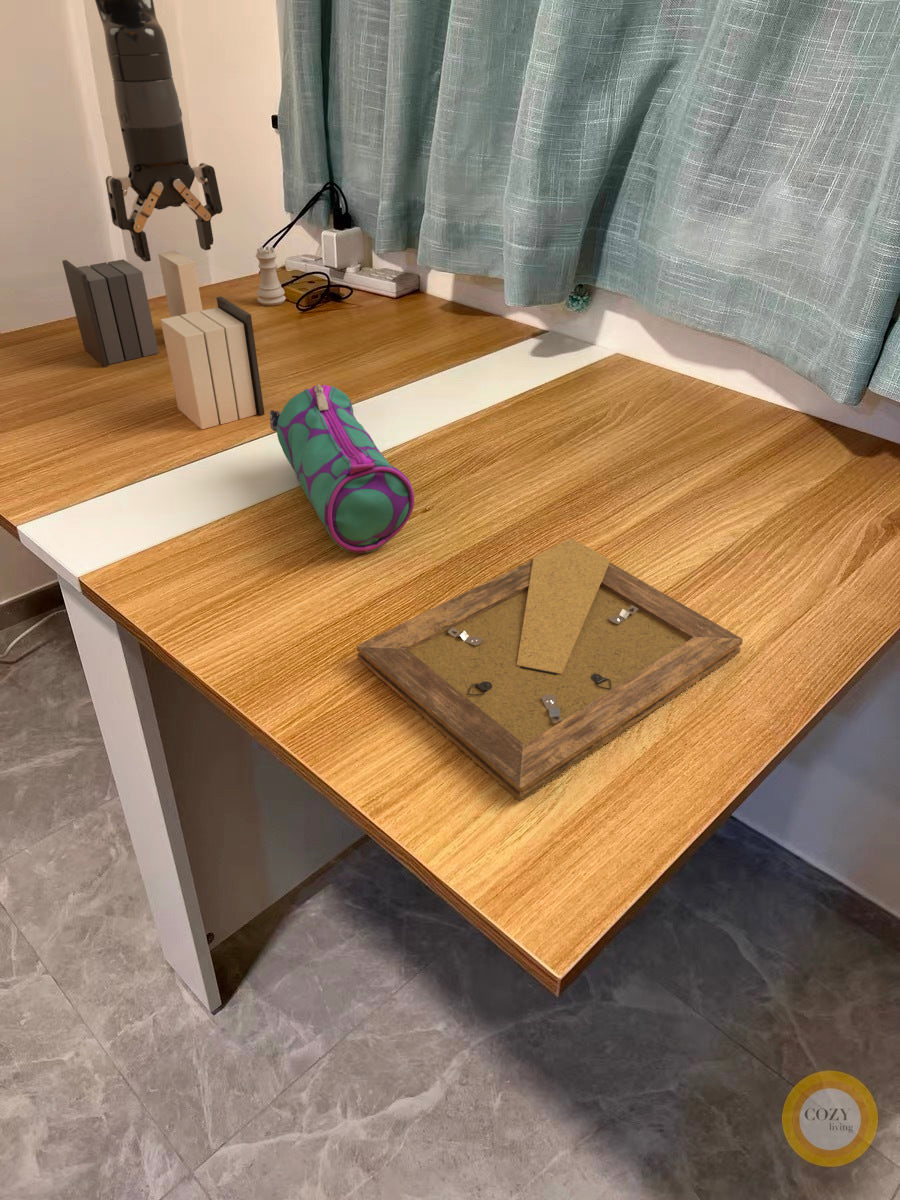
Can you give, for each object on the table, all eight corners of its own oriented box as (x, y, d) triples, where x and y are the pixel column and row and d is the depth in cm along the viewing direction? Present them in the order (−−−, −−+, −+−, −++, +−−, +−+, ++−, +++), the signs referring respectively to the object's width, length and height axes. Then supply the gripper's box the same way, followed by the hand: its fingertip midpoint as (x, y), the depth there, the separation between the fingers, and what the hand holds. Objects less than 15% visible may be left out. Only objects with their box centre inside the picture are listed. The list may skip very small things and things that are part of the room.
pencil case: (275, 467, 95) (264, 382, 89) (354, 452, 98) (348, 369, 92) (329, 569, 80) (319, 474, 74) (421, 548, 82) (419, 455, 76)
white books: (203, 431, 102) (184, 329, 95) (176, 408, 107) (156, 309, 100) (264, 414, 106) (251, 314, 99) (235, 392, 111) (220, 296, 104)
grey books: (103, 367, 118) (81, 275, 111) (84, 349, 123) (61, 260, 116) (160, 354, 121) (142, 264, 114) (139, 337, 127) (120, 250, 119)
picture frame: (570, 553, 81) (357, 660, 69) (571, 537, 80) (355, 643, 68) (739, 654, 70) (520, 803, 58) (744, 636, 69) (521, 785, 57)
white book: (192, 345, 124) (177, 265, 117) (172, 331, 129) (157, 253, 122) (208, 342, 125) (194, 261, 119) (188, 328, 130) (174, 250, 123)
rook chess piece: (252, 305, 138) (245, 252, 133) (264, 296, 141) (257, 244, 137) (279, 307, 137) (273, 253, 132) (290, 298, 140) (284, 245, 136)
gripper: (192, 110, 116) (213, 239, 126) (83, 122, 110) (114, 257, 119) (216, 117, 111) (236, 251, 121) (104, 130, 105) (134, 270, 114)
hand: (176, 254), depth 120 cm, fingers open, 8 cm apart
